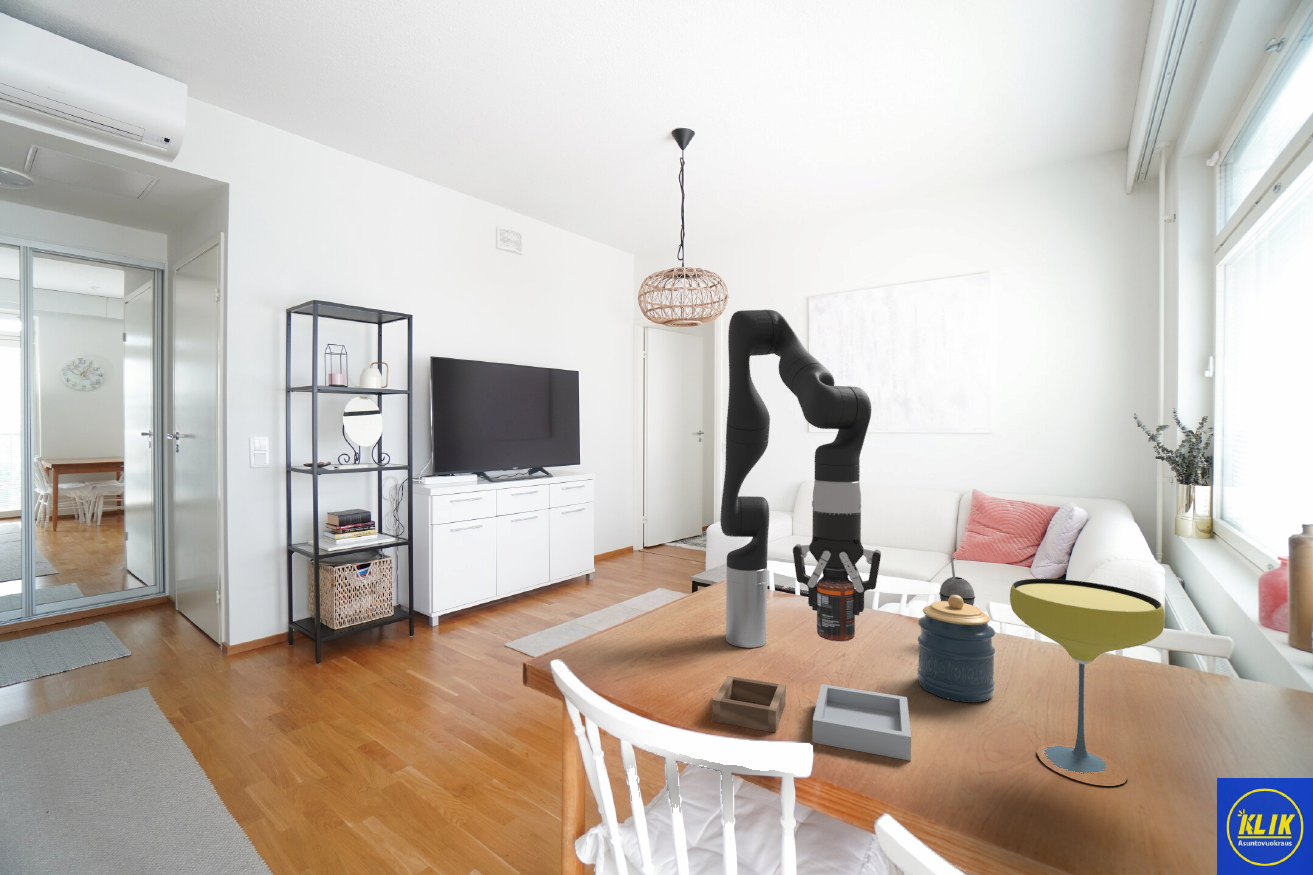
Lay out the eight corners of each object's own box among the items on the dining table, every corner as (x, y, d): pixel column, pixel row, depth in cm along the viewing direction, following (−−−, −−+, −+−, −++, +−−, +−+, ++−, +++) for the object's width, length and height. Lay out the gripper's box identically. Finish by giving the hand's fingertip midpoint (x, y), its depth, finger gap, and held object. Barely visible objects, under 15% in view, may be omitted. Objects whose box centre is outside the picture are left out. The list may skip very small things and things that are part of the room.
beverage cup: (979, 653, 129) (980, 562, 129) (943, 650, 131) (944, 560, 131) (968, 641, 136) (969, 555, 136) (934, 639, 138) (935, 553, 138)
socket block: (727, 694, 107) (727, 675, 107) (785, 704, 104) (785, 684, 104) (712, 720, 98) (712, 699, 98) (775, 732, 94) (775, 710, 94)
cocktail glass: (1197, 794, 79) (1200, 608, 79) (1086, 811, 75) (1089, 615, 75) (1075, 728, 96) (1077, 575, 96) (980, 739, 93) (982, 580, 92)
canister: (990, 681, 114) (992, 591, 114) (998, 710, 103) (999, 608, 102) (917, 669, 120) (918, 583, 120) (916, 695, 108) (917, 599, 108)
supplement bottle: (855, 633, 98) (856, 564, 98) (854, 645, 92) (854, 572, 92) (818, 628, 100) (818, 561, 100) (814, 640, 94) (815, 569, 94)
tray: (820, 703, 104) (821, 683, 104) (906, 717, 99) (906, 697, 99) (812, 742, 91) (812, 719, 91) (910, 760, 86) (911, 736, 86)
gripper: (884, 508, 97) (883, 610, 97) (795, 504, 102) (794, 600, 102) (883, 513, 90) (882, 624, 90) (787, 508, 95) (787, 612, 95)
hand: (835, 611), depth 96 cm, fingers closed on supplement bottle, 6 cm apart
